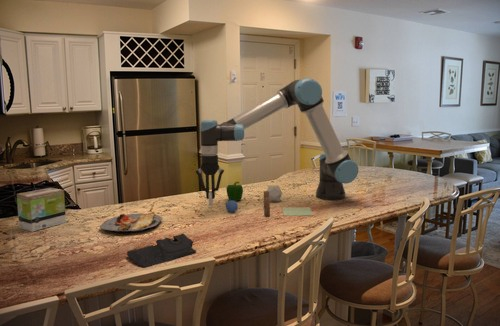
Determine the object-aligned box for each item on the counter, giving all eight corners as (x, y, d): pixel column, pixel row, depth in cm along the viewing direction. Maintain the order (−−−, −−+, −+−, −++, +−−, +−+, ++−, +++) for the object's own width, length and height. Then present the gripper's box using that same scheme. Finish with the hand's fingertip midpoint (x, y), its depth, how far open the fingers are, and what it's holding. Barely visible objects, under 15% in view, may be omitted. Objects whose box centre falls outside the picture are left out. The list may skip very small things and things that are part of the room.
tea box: (32, 232, 160) (29, 196, 158) (19, 228, 165) (15, 193, 163) (67, 222, 173) (64, 189, 170) (53, 219, 178) (50, 186, 176)
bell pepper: (223, 201, 204) (222, 182, 202) (231, 198, 211) (231, 179, 210) (237, 203, 200) (237, 183, 198) (245, 199, 207) (245, 180, 206)
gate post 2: (269, 215, 180) (269, 197, 178) (270, 216, 177) (269, 198, 176) (264, 215, 180) (263, 197, 178) (264, 216, 177) (264, 199, 176)
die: (277, 205, 198) (286, 188, 200) (262, 196, 199) (271, 179, 201) (275, 206, 206) (285, 190, 208) (261, 198, 207) (270, 182, 209)
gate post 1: (269, 207, 192) (269, 191, 191) (269, 208, 189) (269, 192, 188) (263, 207, 192) (263, 191, 191) (263, 208, 189) (263, 192, 188)
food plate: (115, 217, 180) (115, 210, 179) (167, 217, 179) (167, 209, 178) (92, 236, 155) (91, 227, 155) (152, 236, 154) (151, 227, 154)
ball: (238, 210, 187) (237, 198, 187) (237, 213, 182) (237, 202, 181) (226, 210, 188) (226, 199, 187) (225, 213, 182) (225, 202, 181)
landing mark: (309, 207, 190) (309, 207, 190) (313, 215, 178) (313, 215, 178) (282, 207, 191) (282, 207, 191) (284, 215, 178) (284, 215, 178)
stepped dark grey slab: (121, 257, 135) (120, 243, 135) (179, 241, 149) (178, 229, 148) (141, 271, 124) (140, 256, 123) (201, 253, 138) (201, 240, 137)
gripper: (193, 155, 177) (195, 207, 181) (223, 155, 177) (224, 207, 181) (196, 153, 185) (197, 203, 188) (224, 153, 184) (225, 203, 188)
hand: (210, 205), depth 185 cm, fingers closed
